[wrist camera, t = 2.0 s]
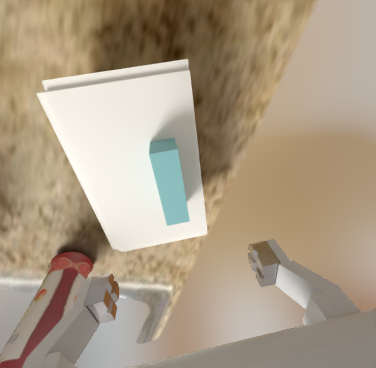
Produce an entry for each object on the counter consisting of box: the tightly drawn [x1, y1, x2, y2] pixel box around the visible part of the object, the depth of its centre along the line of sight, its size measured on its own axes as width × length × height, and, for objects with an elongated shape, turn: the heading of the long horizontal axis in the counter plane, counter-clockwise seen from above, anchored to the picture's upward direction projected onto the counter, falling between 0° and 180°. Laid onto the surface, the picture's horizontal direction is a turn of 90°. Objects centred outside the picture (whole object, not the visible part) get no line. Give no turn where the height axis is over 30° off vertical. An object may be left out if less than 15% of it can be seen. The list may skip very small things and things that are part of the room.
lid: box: [37, 59, 207, 252], centre depth 20 cm, size 20×13×6 cm, turn 7°
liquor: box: [0, 251, 93, 368], centre depth 24 cm, size 7×7×28 cm
